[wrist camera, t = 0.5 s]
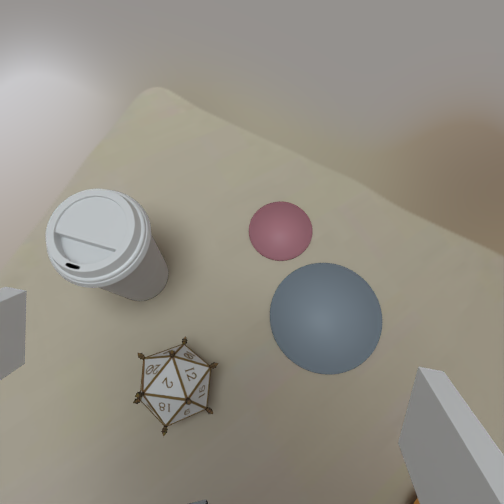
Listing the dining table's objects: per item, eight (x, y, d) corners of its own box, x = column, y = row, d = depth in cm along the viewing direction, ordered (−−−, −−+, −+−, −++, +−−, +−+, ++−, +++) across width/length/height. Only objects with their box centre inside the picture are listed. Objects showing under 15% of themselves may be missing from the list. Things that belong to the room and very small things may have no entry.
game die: (177, 396, 47) (102, 423, 39) (184, 327, 47) (110, 339, 39) (235, 423, 42) (162, 461, 34) (243, 345, 41) (171, 364, 33)
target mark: (403, 343, 44) (403, 343, 44) (300, 394, 43) (301, 394, 43) (346, 246, 48) (347, 246, 48) (252, 290, 47) (251, 289, 47)
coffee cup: (88, 281, 48) (13, 237, 34) (142, 225, 51) (92, 162, 36) (142, 330, 46) (87, 304, 32) (196, 269, 48) (166, 220, 34)
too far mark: (323, 244, 49) (323, 244, 48) (265, 271, 48) (265, 270, 48) (294, 193, 51) (294, 192, 51) (238, 217, 50) (238, 216, 50)
